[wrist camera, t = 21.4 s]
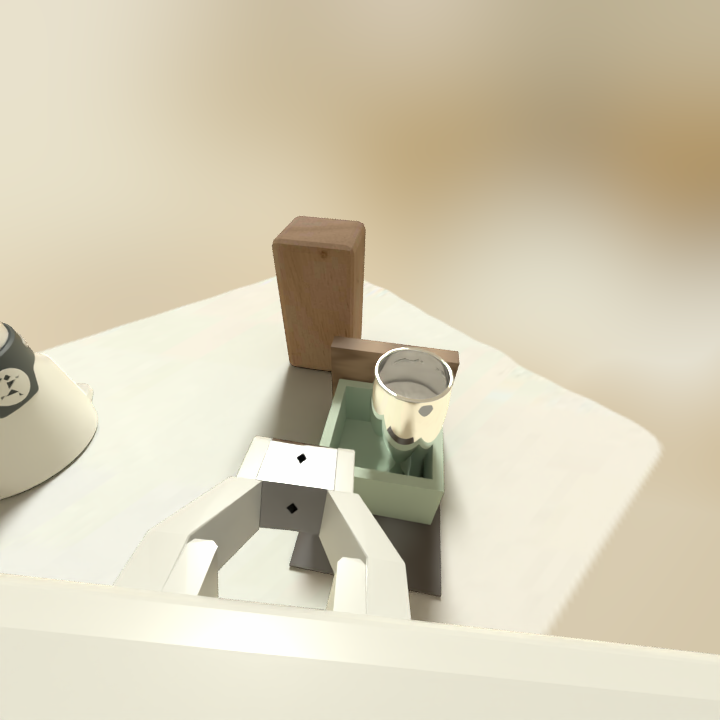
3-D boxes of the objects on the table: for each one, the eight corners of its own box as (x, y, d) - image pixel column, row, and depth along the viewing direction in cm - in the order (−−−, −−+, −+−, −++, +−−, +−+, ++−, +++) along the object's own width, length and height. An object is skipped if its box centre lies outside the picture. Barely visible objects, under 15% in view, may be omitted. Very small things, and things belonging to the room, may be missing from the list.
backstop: (289, 565, 31) (270, 508, 23) (336, 404, 46) (334, 335, 38) (440, 596, 30) (475, 547, 22) (438, 419, 44) (458, 351, 36)
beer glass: (421, 506, 34) (453, 413, 24) (357, 487, 35) (362, 391, 25) (430, 450, 39) (459, 354, 29) (373, 435, 40) (382, 339, 30)
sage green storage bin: (316, 504, 35) (311, 469, 30) (340, 415, 44) (339, 378, 39) (430, 524, 34) (444, 491, 29) (431, 429, 43) (441, 392, 38)
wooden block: (350, 376, 50) (352, 249, 37) (287, 367, 51) (267, 240, 38) (362, 337, 57) (367, 219, 44) (306, 330, 59) (295, 212, 45)
